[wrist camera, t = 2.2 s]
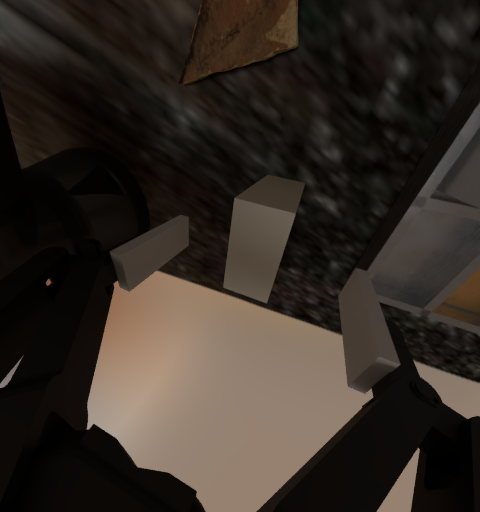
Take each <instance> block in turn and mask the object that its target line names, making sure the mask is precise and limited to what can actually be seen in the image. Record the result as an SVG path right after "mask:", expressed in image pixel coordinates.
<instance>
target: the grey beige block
mask: <svg viewBox="0 0 480 512" xmlns="http://www.w3.org/2000/svg"><path fill="white" fill-rule="evenodd" d="M304 186H305V183H303V182H299V181H294V180H290V179H285V178H281V177H276V176H272V175H267V176H265V177H264V178H262V179H261V180H259V181H258V182H257V183H255V184H254V185H252V186H251V187H250V188H248V189H247V190H245V191H244V192H242V193H241V194H240V195H238V196H237V197H235V198H234V206H233V214H232V222H231V230H230V238H229V246H228V254H227V262H226V269H225V277H224V285H223V288H226V289H229V290H232V291H234V292H237V293H240V294H243V295H245V296H248V297H251V298H254V299H256V300H259V301H262V302H264V303H267V301H268V298H269V295H270V292H271V289H272V286H273V283H274V280H275V276H276V273H277V270H278V267H279V264H280V261H281V258H282V255H283V252H284V249H285V246H286V243H287V240H288V236H289V233H290V230H291V227H292V224H293V221H294V218H295V215H296V212H297V209H298V205H299V202H300V199H301V195H302V192H303V189H304Z"/></svg>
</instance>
